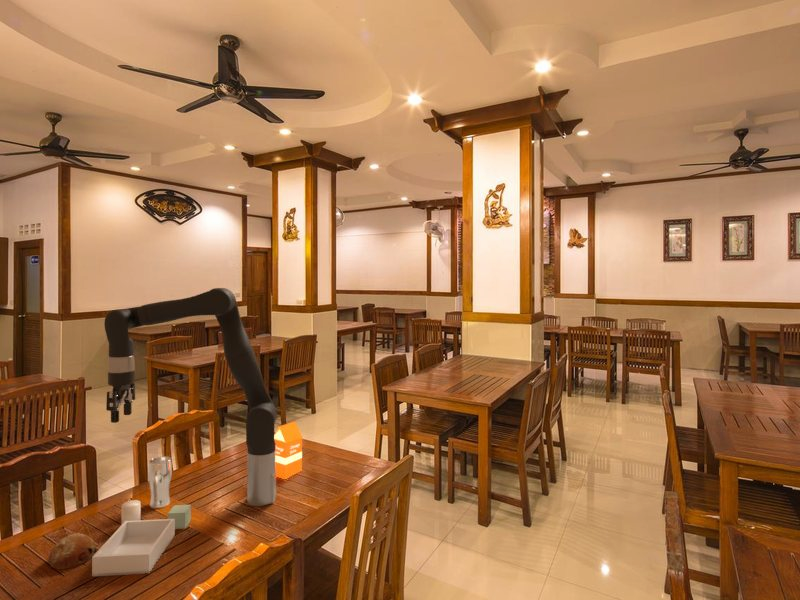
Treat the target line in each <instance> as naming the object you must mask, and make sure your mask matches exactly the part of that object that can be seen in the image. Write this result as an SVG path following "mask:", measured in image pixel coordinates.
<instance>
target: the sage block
mask: <svg viewBox="0 0 800 600" xmlns="http://www.w3.org/2000/svg"><path fill="white" fill-rule="evenodd" d="M191 510H192V505H191V504H180V505H179V504H178V505H177V504H175V505H173V506H172V507H171V508H170V510H169V511H168V513H167V519H175V530H184V529H185V530H186V528H187V527H188V525H189V524H190V522H191V518H192V514H191V513H192V511H191Z"/></svg>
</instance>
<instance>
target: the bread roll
mask: <svg viewBox="0 0 800 600" xmlns="http://www.w3.org/2000/svg"><path fill="white" fill-rule="evenodd" d="M98 546H99V543H97V542H96V541H95V540H93V538H91V537H90V536H89V535H86V534H82V533H81V532H80V533H79V532H78V533H72V534H70V535H68V536H66V537H63V538H62V539H60V540H59V541H58V542H57V543H56V544H55V545H54V546H53V547H52V548H51V550H50V552H49V556H48V564H49V565H50V567H51V568H52V569H55V570H62V569H70V568H74V567H78V566H80V565H83V564H85V563H86V562H88V561H90V560H91V559H92V557H93V556H94V555H95V553H96V552H97V551H98V550H97V549H96V547H98Z"/></svg>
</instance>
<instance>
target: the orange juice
mask: <svg viewBox="0 0 800 600" xmlns="http://www.w3.org/2000/svg"><path fill="white" fill-rule="evenodd" d="M274 439H275V443H276V456H275V469H276V478H277V477H279V478H282V479H287V478H289V477H290V476H292V475H294V474H296V473H298V472H300V471H303V465H302V464H303V461H302V460H303V436H302V434H301V431H300V429H299V427H298V425H297V422H296V421H292V422H289V423H285V424H282V425H279V426H278V428H277V429H276V431H275V432H274ZM279 478H278V479H279ZM282 479H281V480H282ZM287 480H288V479H287Z"/></svg>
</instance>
